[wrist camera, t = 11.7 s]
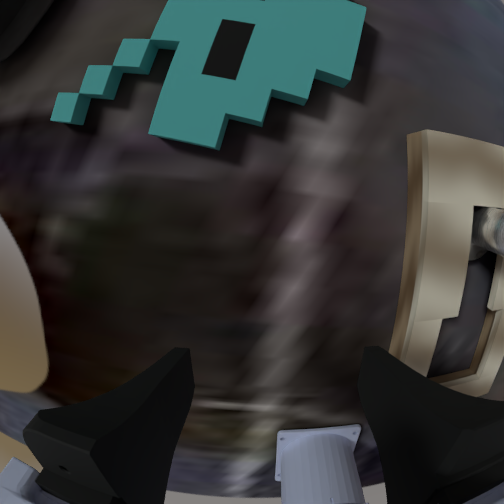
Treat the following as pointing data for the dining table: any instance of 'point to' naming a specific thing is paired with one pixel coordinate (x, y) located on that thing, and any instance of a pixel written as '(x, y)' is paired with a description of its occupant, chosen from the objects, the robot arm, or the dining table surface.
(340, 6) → the alien figure
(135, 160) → the dining table surface
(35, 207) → the dining table surface
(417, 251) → the keyhole plate
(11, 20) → the casserole
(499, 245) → the peg
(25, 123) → the dining table surface
